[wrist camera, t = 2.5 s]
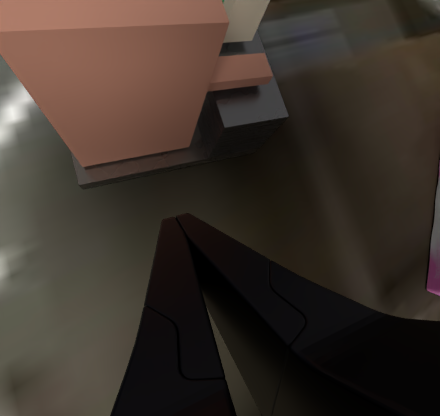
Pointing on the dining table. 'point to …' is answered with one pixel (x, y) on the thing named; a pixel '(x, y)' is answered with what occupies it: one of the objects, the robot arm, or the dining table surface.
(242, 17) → the cream upright block
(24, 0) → the brown upright block
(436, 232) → the gum box
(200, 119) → the gauge body
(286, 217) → the dining table surface
